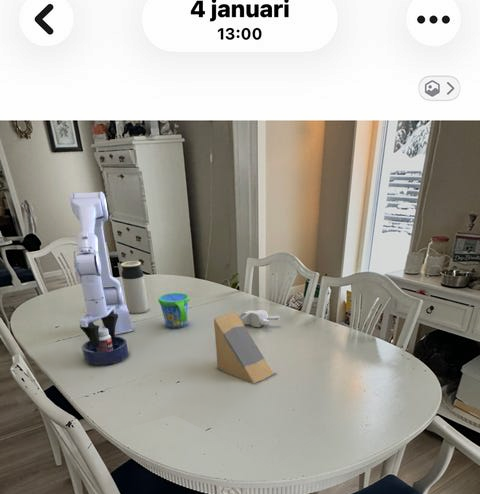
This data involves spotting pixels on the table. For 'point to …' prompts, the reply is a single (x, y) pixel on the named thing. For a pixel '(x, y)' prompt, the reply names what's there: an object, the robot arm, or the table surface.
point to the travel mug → (134, 287)
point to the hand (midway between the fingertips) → (103, 342)
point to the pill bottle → (104, 340)
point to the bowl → (105, 352)
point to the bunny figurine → (257, 318)
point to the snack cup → (174, 309)
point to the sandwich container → (238, 350)
